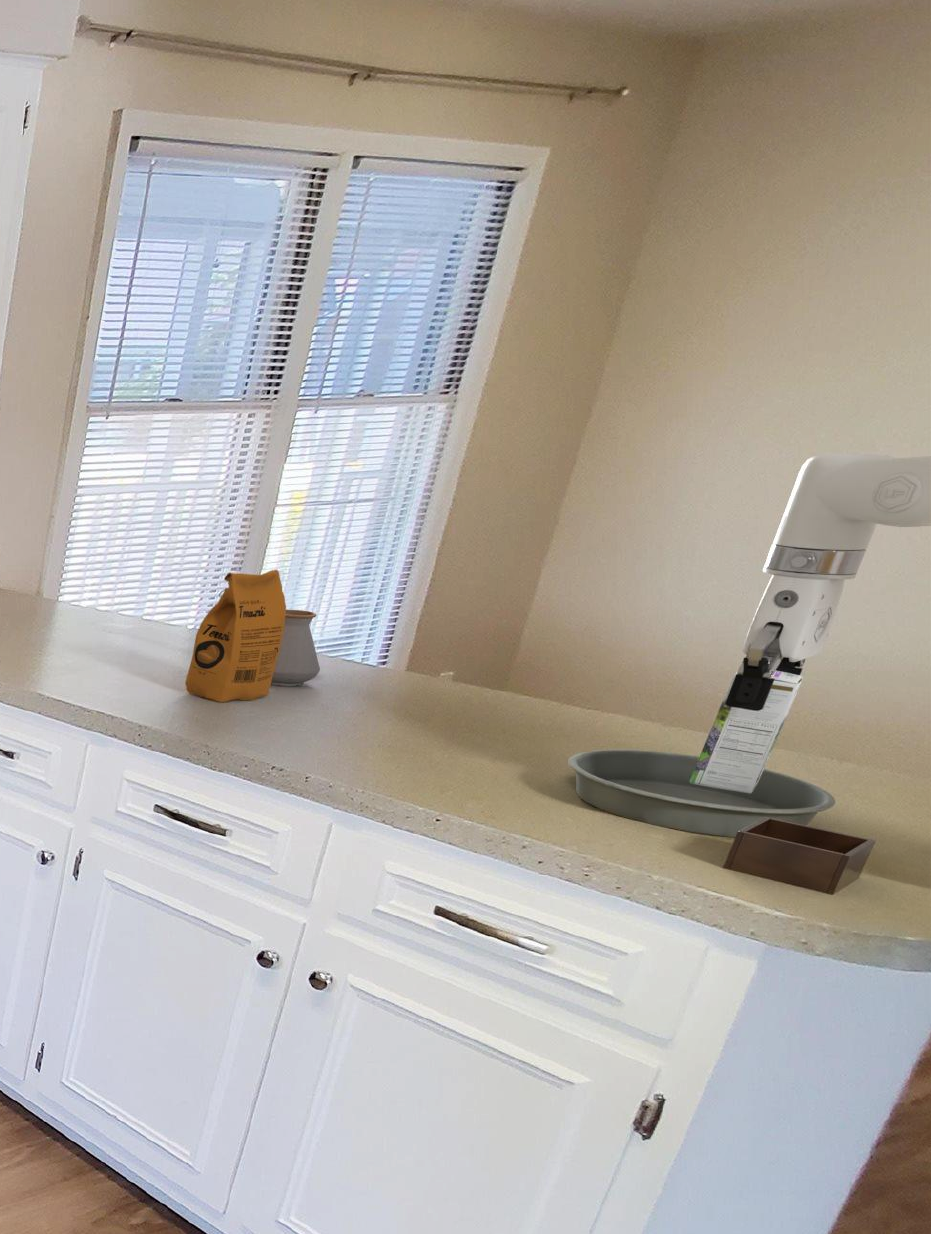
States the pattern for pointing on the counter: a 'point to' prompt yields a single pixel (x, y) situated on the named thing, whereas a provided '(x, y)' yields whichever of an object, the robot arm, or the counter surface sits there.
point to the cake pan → (688, 793)
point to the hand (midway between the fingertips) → (757, 702)
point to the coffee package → (239, 640)
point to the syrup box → (745, 738)
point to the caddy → (799, 855)
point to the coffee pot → (296, 651)
